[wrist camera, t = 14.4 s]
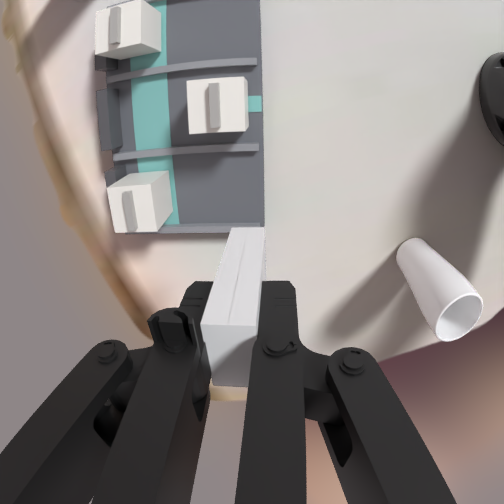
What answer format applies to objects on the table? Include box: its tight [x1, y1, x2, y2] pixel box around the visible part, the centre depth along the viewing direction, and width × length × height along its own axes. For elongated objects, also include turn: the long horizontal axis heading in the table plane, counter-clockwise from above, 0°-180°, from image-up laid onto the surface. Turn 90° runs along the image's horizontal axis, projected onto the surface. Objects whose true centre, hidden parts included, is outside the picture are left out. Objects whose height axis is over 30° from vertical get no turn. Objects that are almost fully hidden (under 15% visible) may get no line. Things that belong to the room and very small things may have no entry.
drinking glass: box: [396, 238, 483, 341], centre depth 33 cm, size 7×7×15 cm
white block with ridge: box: [187, 77, 249, 134], centre depth 26 cm, size 5×5×7 cm
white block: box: [95, 0, 161, 60], centre depth 23 cm, size 5×5×7 cm
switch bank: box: [95, 0, 264, 234], centre depth 30 cm, size 18×30×5 cm, turn 1°
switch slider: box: [107, 170, 173, 233], centre depth 31 cm, size 5×5×7 cm
